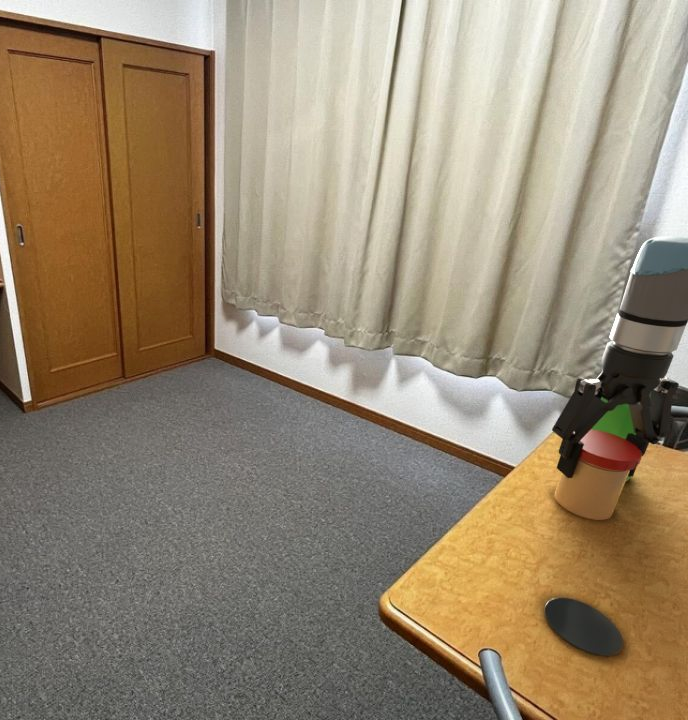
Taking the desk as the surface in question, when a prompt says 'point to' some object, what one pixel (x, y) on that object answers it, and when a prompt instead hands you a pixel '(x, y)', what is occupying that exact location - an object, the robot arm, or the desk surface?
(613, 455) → the lid
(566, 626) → the coaster
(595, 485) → the jam jar
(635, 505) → the desk surface
